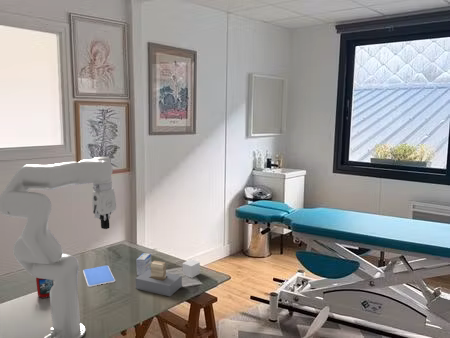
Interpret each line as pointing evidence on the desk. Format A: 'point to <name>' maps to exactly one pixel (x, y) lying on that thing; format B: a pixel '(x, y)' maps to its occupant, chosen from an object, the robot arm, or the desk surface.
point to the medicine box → (143, 263)
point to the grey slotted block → (159, 283)
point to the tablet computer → (98, 276)
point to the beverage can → (44, 287)
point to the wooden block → (158, 270)
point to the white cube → (191, 268)
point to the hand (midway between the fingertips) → (105, 228)
